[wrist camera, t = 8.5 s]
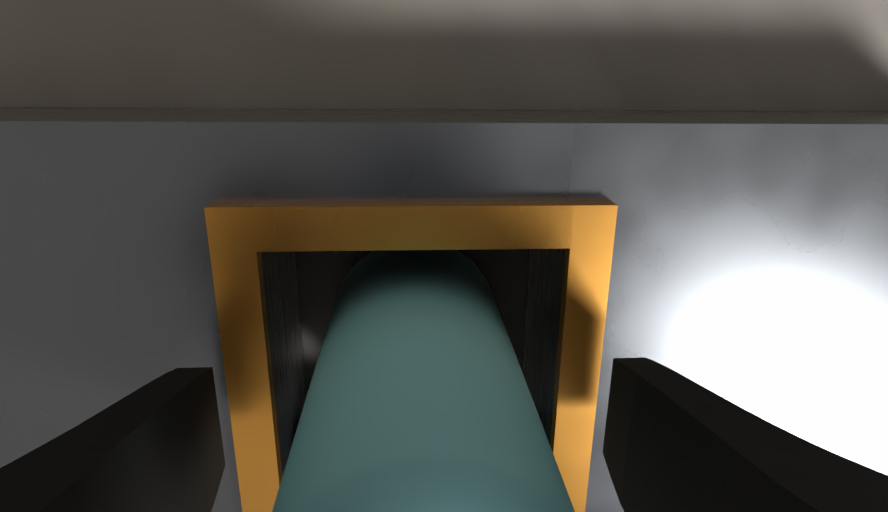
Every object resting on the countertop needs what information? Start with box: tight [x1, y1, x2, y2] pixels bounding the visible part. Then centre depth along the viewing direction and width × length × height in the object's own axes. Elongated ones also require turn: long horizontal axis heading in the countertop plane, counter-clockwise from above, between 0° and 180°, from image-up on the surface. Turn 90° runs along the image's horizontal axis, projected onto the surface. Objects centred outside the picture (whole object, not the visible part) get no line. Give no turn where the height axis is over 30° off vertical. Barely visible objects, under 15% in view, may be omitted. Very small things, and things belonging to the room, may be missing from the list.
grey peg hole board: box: [0, 108, 888, 512], centre depth 13 cm, size 24×10×3 cm, turn 89°
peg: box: [272, 250, 575, 512], centre depth 10 cm, size 4×4×8 cm
